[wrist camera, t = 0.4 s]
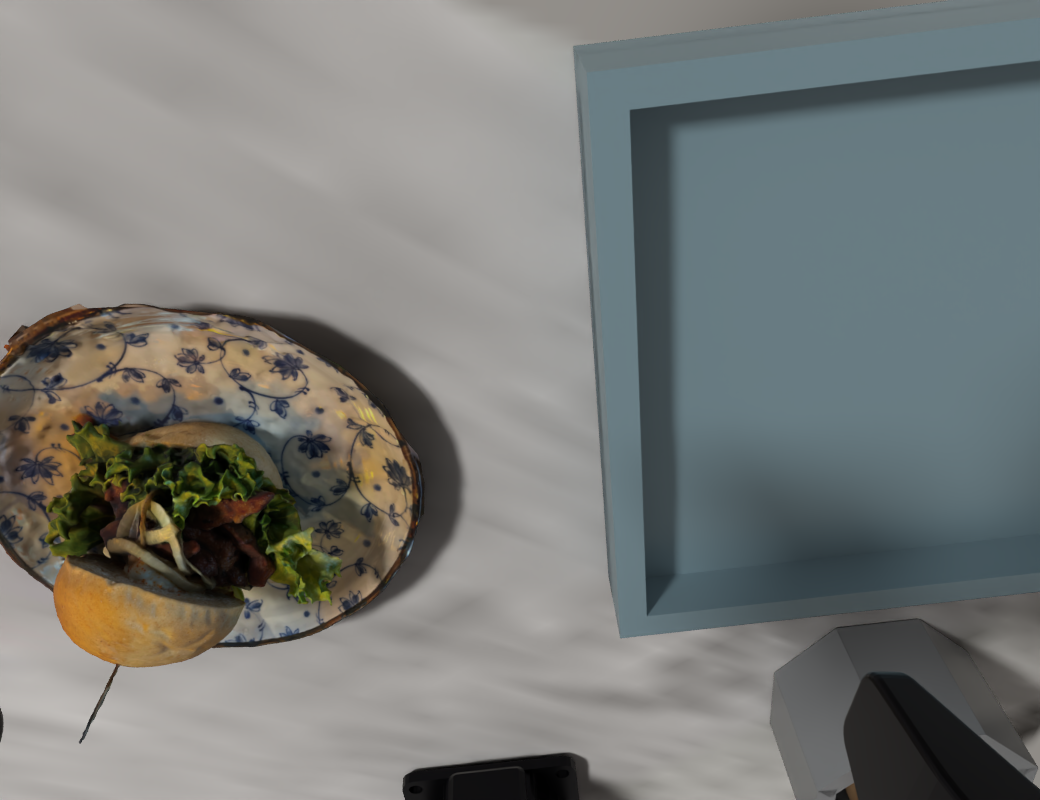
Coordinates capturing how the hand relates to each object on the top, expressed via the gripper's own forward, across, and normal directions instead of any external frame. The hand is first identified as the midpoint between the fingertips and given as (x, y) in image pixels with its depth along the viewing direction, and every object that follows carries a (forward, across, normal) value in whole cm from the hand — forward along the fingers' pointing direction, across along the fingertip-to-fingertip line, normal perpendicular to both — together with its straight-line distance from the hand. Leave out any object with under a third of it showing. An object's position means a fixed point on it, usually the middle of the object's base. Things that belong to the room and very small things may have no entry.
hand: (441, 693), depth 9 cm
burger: (+14, +7, +8) cm, 18 cm away
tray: (+14, -14, +2) cm, 20 cm away
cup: (+14, -15, +17) cm, 27 cm away
